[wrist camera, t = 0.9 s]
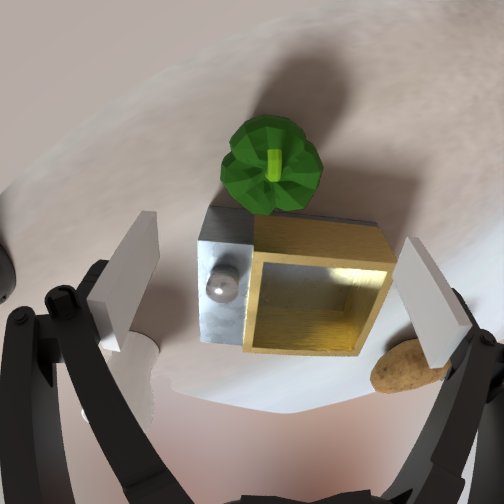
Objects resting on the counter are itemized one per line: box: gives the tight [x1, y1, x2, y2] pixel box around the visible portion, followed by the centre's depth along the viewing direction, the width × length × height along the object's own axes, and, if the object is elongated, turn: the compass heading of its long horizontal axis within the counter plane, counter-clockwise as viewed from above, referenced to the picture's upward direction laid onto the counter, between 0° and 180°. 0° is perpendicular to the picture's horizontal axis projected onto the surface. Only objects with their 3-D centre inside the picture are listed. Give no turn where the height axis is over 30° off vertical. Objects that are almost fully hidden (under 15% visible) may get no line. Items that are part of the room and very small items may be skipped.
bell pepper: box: [220, 114, 323, 215], centre depth 27 cm, size 8×8×10 cm
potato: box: [370, 339, 452, 394], centre depth 44 cm, size 10×14×8 cm
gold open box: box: [198, 206, 398, 356], centre depth 35 cm, size 19×14×9 cm
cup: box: [81, 331, 159, 434], centre depth 43 cm, size 11×11×15 cm
